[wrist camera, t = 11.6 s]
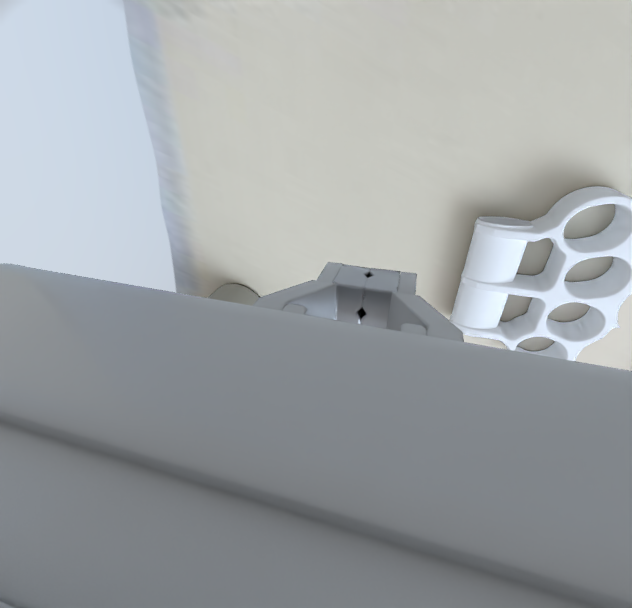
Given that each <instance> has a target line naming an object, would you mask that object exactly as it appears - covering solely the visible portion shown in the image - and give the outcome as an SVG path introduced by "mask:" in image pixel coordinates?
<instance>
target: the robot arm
mask: <svg viewBox="0 0 632 608" xmlns="http://www.w3.org/2000/svg"><path fill="white" fill-rule="evenodd" d="M400 272H401V271H393V270H384V269H375V268H365V267H359V266H352V265H345V264H342V263H332V262H328V263H327V264H326V266H325V268H324V269H323V271H322V272H321V274H320V276H319V277H318V279H317V280H311V281H308V282H305V283H302V284H299V285H296V286H293V287H290V288H287V289H284V290H281V291H278V292H275V293H272V294H269V295H266V296H263V297H260V298H258V300H257V301H256V302H255V303H254V304H253V305H252V306H250V305H245V304H239V303H233V302H227V301H221V300H216V299H210V298H204V297H198V296H192V295H186V294H181V293H175V292H169V291H163V290H157V289H152V288H145V287H140V286H134V285H128V284H122V283H117V282H111V281H105V280H99V279H93V278H88V277H82V276H76V275H70V274H63V273H58V272H52V271H47V270H41V269H35V268H30V267H25V266H20V265H14V264H0V608H632V371H629V370H623V369H617V368H611V367H605V366H600V365H594V364H588V363H582V362H576V361H571V360H565V359H559V358H553V357H547V356H541V355H536V354H530V353H524V352H518V351H512V350H507V349H501V348H495V347H489V346H483V345H477V344H472V343H466V342H464V339H463V332H462V331H461V330H460V329H459V328H457V327H456V326H455V325H454V324H453V323H451V322H450V321H449V320H448V319H447V318H445V317H444V316H443V315H442V314H441V313H439V312H438V311H437V310H436V309H435V308H433V307H432V306H431V305H430V304H429V303H427V302H426V301H425V300H424V299H423V298H421V297H420V296H418V295H415V292H416V278H417V274H416V273H407V272H401V274H400Z"/></svg>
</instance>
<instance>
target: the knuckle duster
mask: <svg viewBox="0 0 632 608" xmlns="http://www.w3.org/2000/svg"><path fill="white" fill-rule="evenodd" d="M603 204H614V205H615V209H616V211H615V216H614V219H613V221H612V222H611V224H610V225H609V226H608V227H607V228H606V229H605V230H603V231H602V232H600V233H598V234H596V235H594V236H590V237H585V238H578V239H567V238H564V237H563V231H564V228H565V225H566V224H567V222H568V221H569V219H570V218H571V217H572V216H573V215H575V214H576V213H577V212H579V211H581V210H583V209H585V208H588V207H592V206H598V205H603ZM474 228H475V229H474V233H473V236H472V240H471V244H470V248H469V251H468V255H467V259H466V263H465V266H464V270H463V272H462V274H461V281H460V285H459V289H458V293H457V296H456V300H455V304H454V308H453V311H452V315H451V316H450V319H449V321H450V322H451V323H453V324H454V325H455V326H456V327H457V328H459V329H460V330H461V331H462V332H463V334H465V335H469V336H474V337H483V338H489V339H495V340H500V341H501V342H502V343H503V344H505V345H506V348H507V350H512V351H518V352H524V353H530V354H536V355H541V356H547V357H553V358H559V359H565V360H571V361H575V359H576V357H577V355H578V354H579V352H580V351H581V350H582V349H583V348H584V347H586V346H587V345H589V344H590V343H592V342H594V341H597V340H599V339H602V338H603V337H604V336H605V335H606V334H607V333H608V332H609V331H610V330H611V329H612V328H620V326H619V325H618V324H617V323H618V311H619V308H620V306H621V304H622V303H623V302H624V300H625V299H626V298H627V297H628V296H629V295H631V294H632V198H631V197H629V196H627V195H625V194H623V193H621V192H619V191H617V190H615V189H612V188H608V187H602V186H593V187H586V188H582V189H579V190H576V191H574V192H571V193H569V194H567V195H566V196H564V197H563V198H561V199H560V200H559V201H558V202H556V203H555V204H554V205H553V206H552V208H551V209H550V210H549V212H548V213H547V214H546V215H544V216H542V217H540V218H538V219H535V220H533V221H530V222H529V221H525V220H520V219H515V218H508V217H498V216H482V217H478V218H477V220H476V221H475V225H474ZM543 238H550V240H551V241H552V242H553V243H554V246H553V248H552V251H551V253H550V256H549V258H548V261H547V263H546V266H545V268H544V270H543V272H541V273H540V274H538V275H535V276H530V275H522V274H516V273H517V270H518V267H519V264H520V262H521V259H522V256H523V253H524V250H525V248H526V245H527V242H528V241H532V242H536V241H538V240H541V239H543ZM604 256H613V263H612V265H611V267H610V268H609V270H608V271H607V272H606V273H604V274H603V275H602V276H600V277H598V278H596V279H593V280H589V281H581V282H567V281H564V279H565V276H566V274H567V272H568V271H569V269H570V268H571V267H573V266H574V265H575V264H577V263H578V262H580V261H583V260H585V259H589V258H596V257H604ZM509 294H512V295H519V296H526V297H533V298H532V301H531V303H530V306H529V308H528V311H527V312H526V313H525V314H524V315H521V316H518V317H516V318H514V319H512V320H511V321H509V322H502V321H500V318H501V315H502V312H503V309H504V306H505V304H506V301H507V298H508V295H509ZM570 302H580V303H584V304H587V305H589V306H590V308H589V310H588V312H587V313H586V314H585V315H584V316H583V317H581V318H579V319H577V320H575V321H571V322H557V321H554V320H551V319H549V318H547V316H548V315H549V313H550V312H551V311H552V310H553V309H554V308H556V307H558V306H560V305H562V304H565V303H570ZM537 336H540V337H546V338H549V339H552V340H554V341H555V342H554V343H553V344H552V345H551V346H550V347H548V348H547V349H544V350H541V351H527V350H524V349H522V348H519V347H517V345H518V344H519V343H520V342H521V341H523V340H525V339H527V338H530V337H537Z"/></svg>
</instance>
